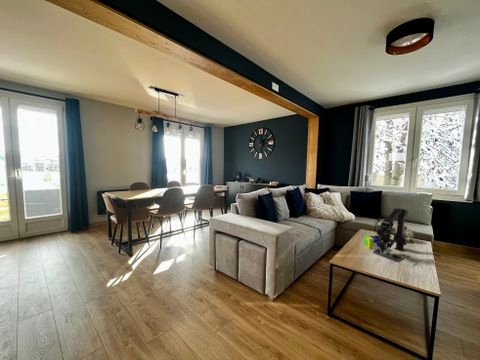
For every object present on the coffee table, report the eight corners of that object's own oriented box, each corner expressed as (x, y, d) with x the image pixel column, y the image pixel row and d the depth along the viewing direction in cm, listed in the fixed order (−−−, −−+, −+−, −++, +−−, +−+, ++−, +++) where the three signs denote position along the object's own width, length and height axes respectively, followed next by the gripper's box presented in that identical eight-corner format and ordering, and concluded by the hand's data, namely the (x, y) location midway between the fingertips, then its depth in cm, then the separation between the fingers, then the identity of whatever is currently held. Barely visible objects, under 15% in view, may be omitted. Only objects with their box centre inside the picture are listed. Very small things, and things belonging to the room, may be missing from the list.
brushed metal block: (383, 253, 178) (383, 244, 177) (389, 255, 174) (390, 247, 173) (380, 254, 176) (380, 245, 175) (386, 256, 171) (387, 248, 171)
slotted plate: (379, 250, 183) (379, 248, 183) (402, 259, 167) (402, 257, 167) (373, 252, 179) (373, 250, 178) (396, 261, 163) (396, 259, 162)
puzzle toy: (380, 250, 184) (381, 240, 183) (369, 249, 186) (369, 239, 185) (375, 245, 194) (376, 236, 193) (364, 244, 196) (365, 235, 195)
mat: (404, 259, 167) (404, 258, 167) (416, 263, 160) (416, 263, 160) (399, 261, 164) (399, 260, 164) (411, 265, 157) (411, 265, 156)
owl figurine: (391, 239, 212) (392, 223, 211) (393, 236, 220) (394, 221, 218) (413, 244, 199) (414, 228, 197) (414, 241, 206) (416, 225, 205)
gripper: (382, 230, 184) (380, 245, 186) (370, 233, 176) (369, 249, 177) (395, 233, 175) (394, 250, 176) (384, 237, 166) (383, 255, 167)
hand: (384, 251), depth 174 cm, fingers open, 9 cm apart
